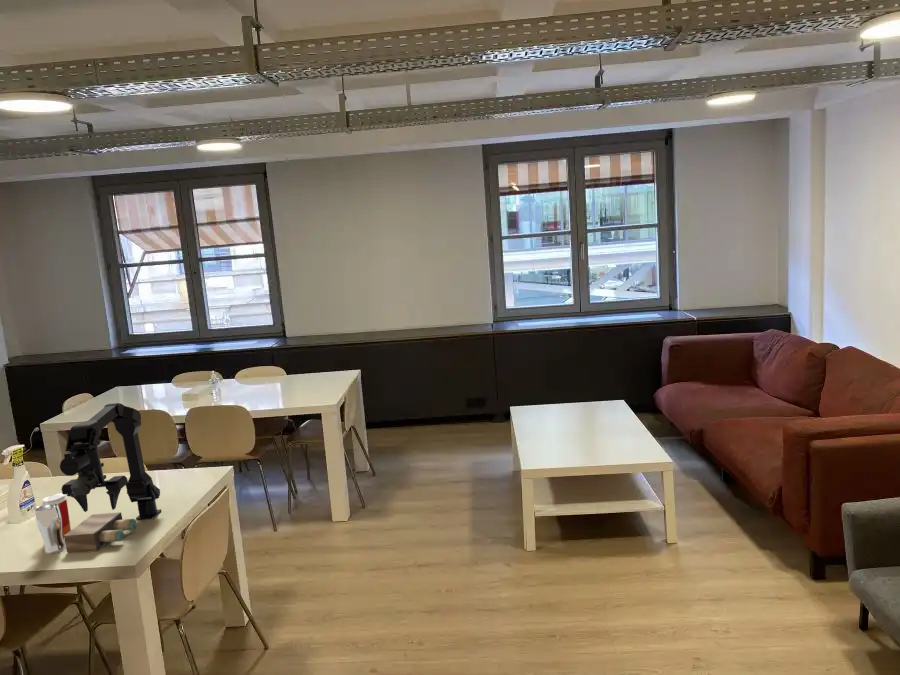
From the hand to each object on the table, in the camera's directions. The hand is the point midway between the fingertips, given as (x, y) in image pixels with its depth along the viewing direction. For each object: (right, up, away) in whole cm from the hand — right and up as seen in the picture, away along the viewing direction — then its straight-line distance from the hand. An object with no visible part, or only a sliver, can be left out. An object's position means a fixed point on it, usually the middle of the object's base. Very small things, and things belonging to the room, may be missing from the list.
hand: (100, 510), depth 215 cm
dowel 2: (-1, -11, +15) cm, 19 cm away
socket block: (-7, -13, +12) cm, 19 cm away
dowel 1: (-1, -12, +7) cm, 14 cm away
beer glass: (-19, -15, +8) cm, 25 cm away
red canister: (-23, -14, +19) cm, 33 cm away
